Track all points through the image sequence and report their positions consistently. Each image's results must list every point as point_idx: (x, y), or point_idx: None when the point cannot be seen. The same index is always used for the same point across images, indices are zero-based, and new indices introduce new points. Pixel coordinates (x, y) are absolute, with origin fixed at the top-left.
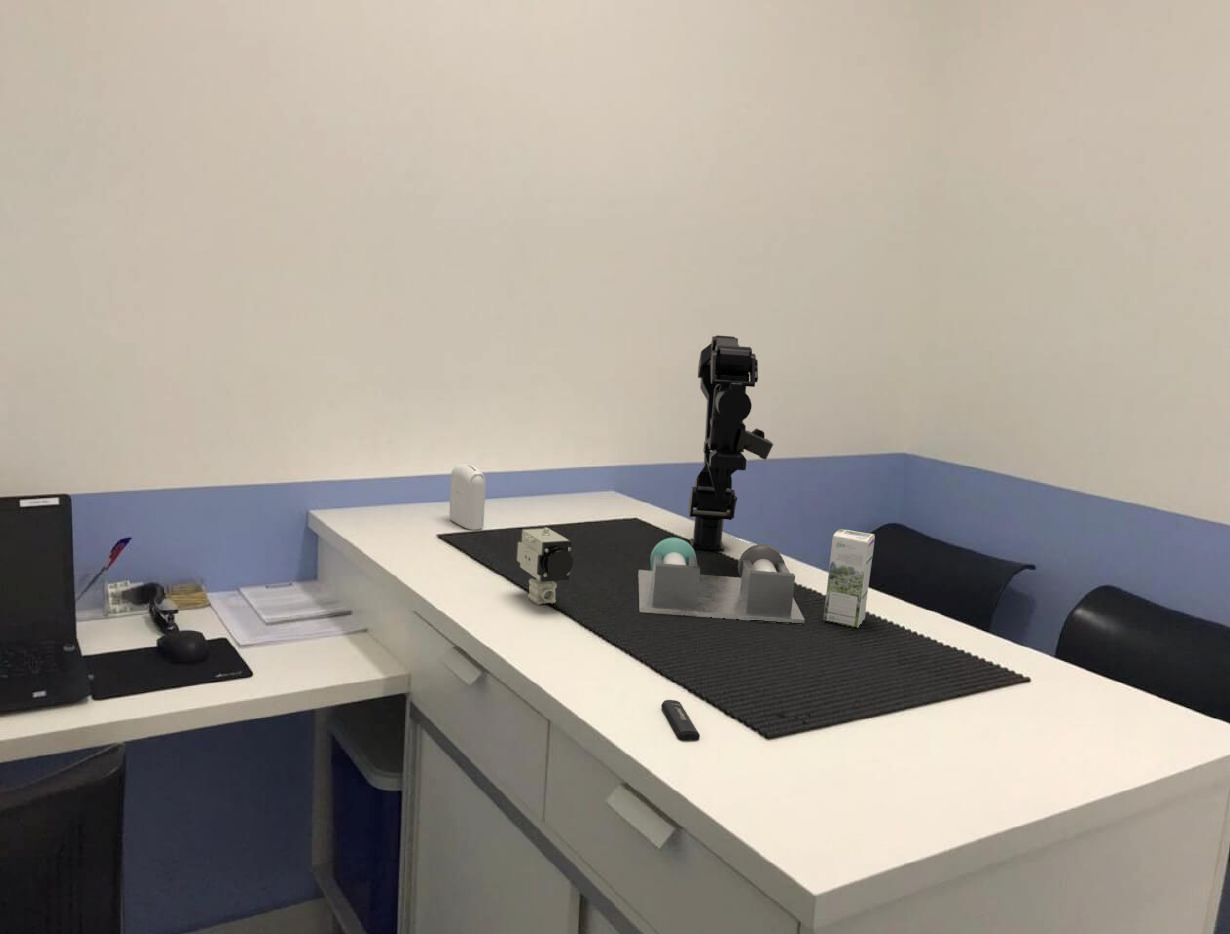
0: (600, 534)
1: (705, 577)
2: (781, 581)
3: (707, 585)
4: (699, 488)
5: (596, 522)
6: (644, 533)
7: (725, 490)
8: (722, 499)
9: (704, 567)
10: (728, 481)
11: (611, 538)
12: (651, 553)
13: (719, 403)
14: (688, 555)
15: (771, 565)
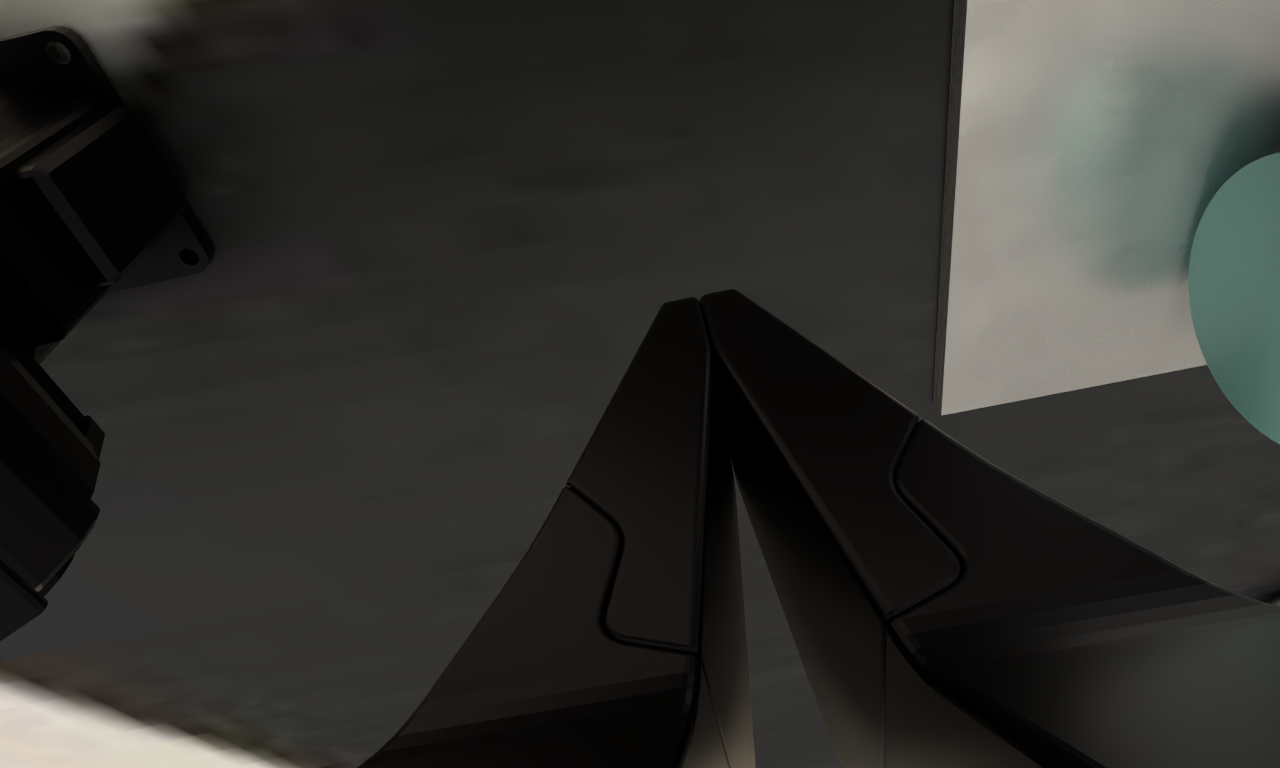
0: (303, 648)
1: (1030, 55)
2: None
3: (1229, 11)
4: (12, 616)
5: (101, 700)
6: (94, 530)
7: (823, 359)
8: (738, 295)
9: (645, 105)
10: (978, 463)
11: (337, 607)
12: (1275, 437)
13: None
14: None
15: None
